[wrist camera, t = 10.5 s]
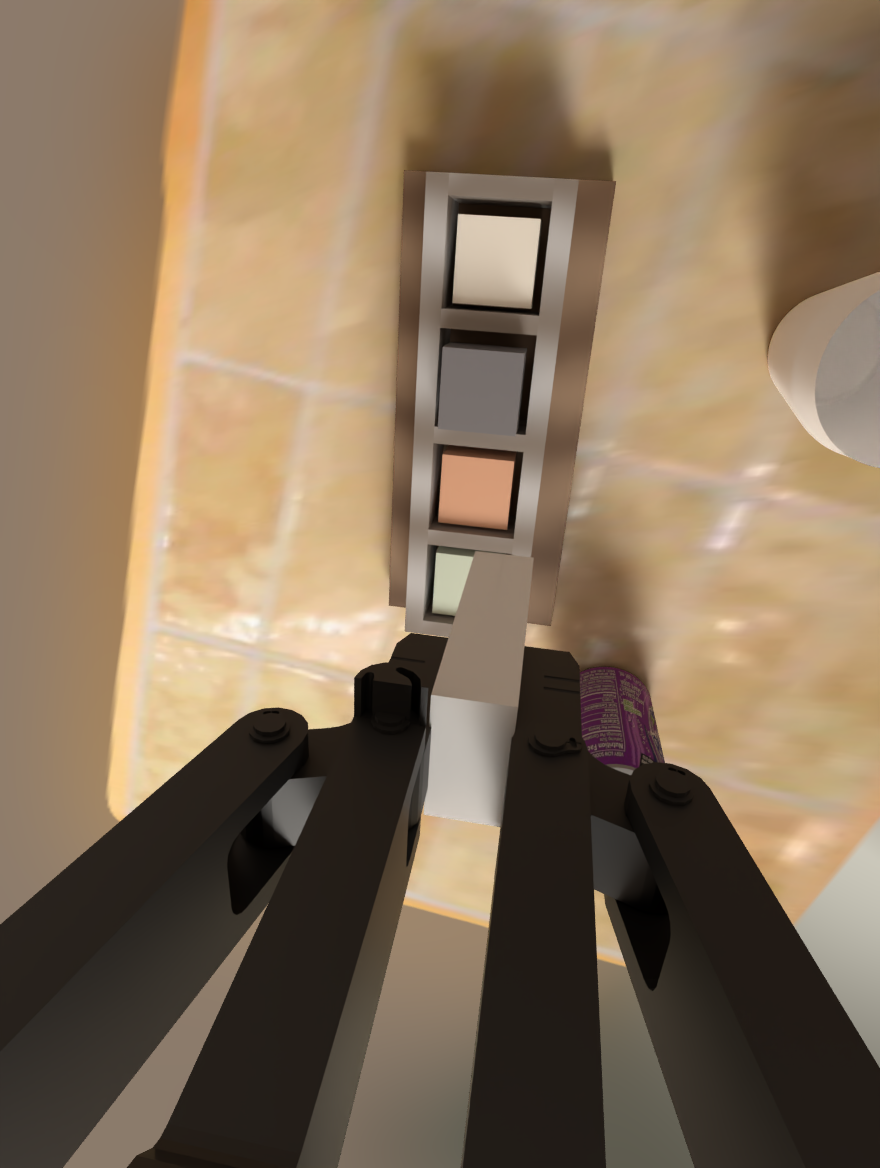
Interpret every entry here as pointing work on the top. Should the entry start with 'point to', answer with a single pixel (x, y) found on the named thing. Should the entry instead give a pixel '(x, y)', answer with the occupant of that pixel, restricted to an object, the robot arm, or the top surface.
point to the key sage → (451, 577)
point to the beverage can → (618, 719)
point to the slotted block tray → (546, 330)
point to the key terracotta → (476, 486)
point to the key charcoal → (481, 388)
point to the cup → (834, 367)
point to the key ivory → (496, 260)
